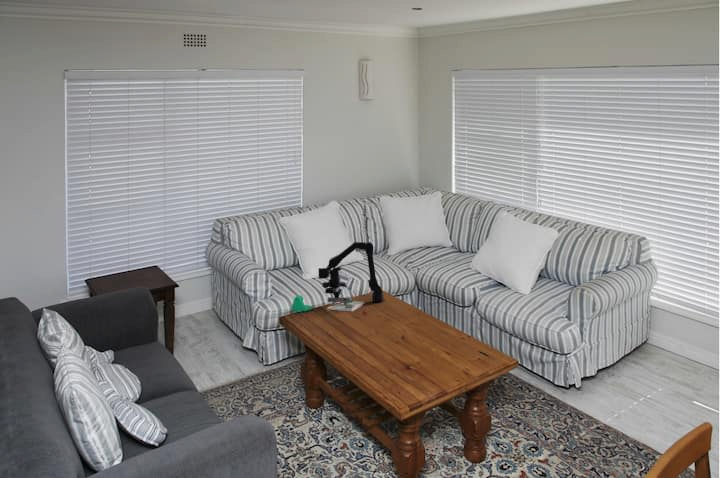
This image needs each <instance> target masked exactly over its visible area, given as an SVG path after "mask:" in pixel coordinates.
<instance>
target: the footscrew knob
mask: <svg viewBox="0 0 720 478" xmlns="http://www.w3.org/2000/svg"><path fill="white" fill-rule="evenodd" d="M327 302H328V303H337V302H344V305H346V303H353V297H349V296H347V297H341V296H339V297H332V296H331V297H330V296H329V297H327Z"/></svg>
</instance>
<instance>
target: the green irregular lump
mask: <svg viewBox="0 0 720 478" xmlns="http://www.w3.org/2000/svg"><path fill="white" fill-rule="evenodd" d="M290 308H291V310H293V311H295V312H299V313H302V312H306V311H310V310H312V309H313V305H309V304H308V305H307V304H305V303H304V297H303V295H300V294H298V295H296V296H295V297H294V299H293V302H292V304H291V307H290Z"/></svg>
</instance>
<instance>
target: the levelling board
mask: <svg viewBox="0 0 720 478" xmlns="http://www.w3.org/2000/svg"><path fill="white" fill-rule="evenodd" d="M352 301H353V300H352ZM336 303H340V302H334V304H336ZM363 304H364V305H365V301H357V300H356V301H353V303H346V305H344V303H341V304H336V305H334V306H331V305H330V306H328V307H326V310H327V309H332V310H338V312H354V311H355V310H356V309H359V308H360V307H362V306H364V305H363Z"/></svg>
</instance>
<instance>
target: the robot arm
mask: <svg viewBox="0 0 720 478" xmlns="http://www.w3.org/2000/svg"><path fill="white" fill-rule="evenodd" d="M357 249H358V250H363V251H365V253H366V257H367V265H368V272H369V279H367V282H368V288H370V290H371V291H372V295H371V297H372V298H371V299H372V301H371V303H376V304H377V303H382V302H385V299H384V292H383V289H382V287H381V286H380V285H379V283H378V280H377V276H376V269H375V264H374V263H375V262H374V244H373V243H372V242H371V241H366V242H362V241H361V242H360V241H359V242H358V241H353V243H351V244H350V245H349V246H348V247H346V248H345V249H344V250H342V252H340V253H339V254H336V255H335V256H333V257H331V258H329V260H328V265H327V266H326V267H323V268H322V267H321V268H320V267H319V268H318V279H319V280H321V279H328V278H330V279H329V280H328V281H324V282H322V283H321V284H322V286H321V287H322V288H324V293H325V294H333V296H334V297H341V296H340V295H341V293H342V290H343V288H346V287H347V283H346V282H342V281H341V280H342V279H341V277H340V274H339V273H340V272H339V271H342V268H341V267H340V266H339V265H340V263H341V262H342V261H343V259H345V258H346V257H348V256H349V255H351V254H352V252H354V251H355V250H357ZM341 287H342V288H341Z"/></svg>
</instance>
